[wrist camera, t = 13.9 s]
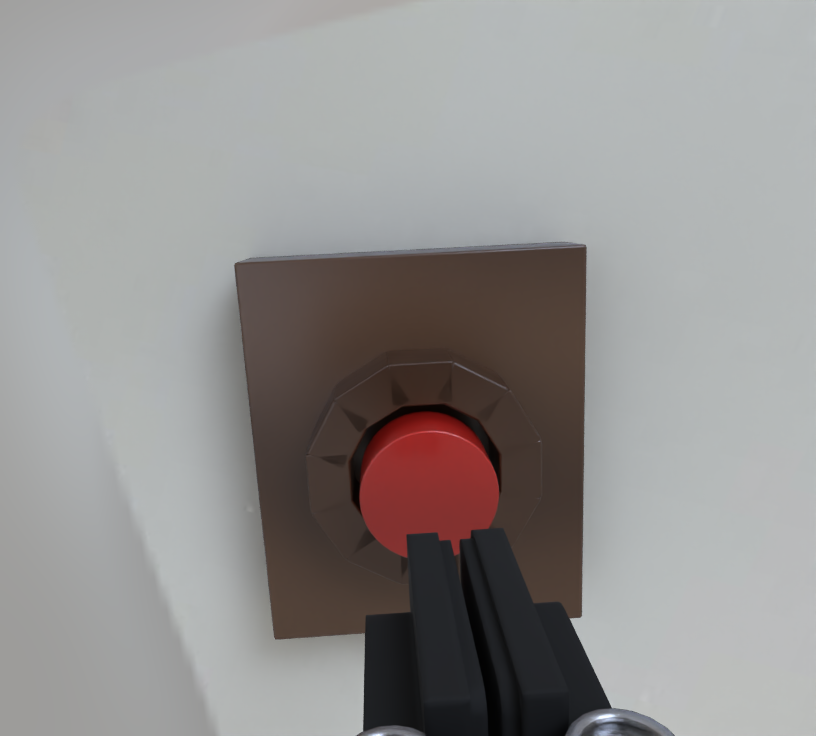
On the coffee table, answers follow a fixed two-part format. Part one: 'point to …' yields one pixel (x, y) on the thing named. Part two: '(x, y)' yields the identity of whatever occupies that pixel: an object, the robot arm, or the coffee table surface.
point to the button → (426, 481)
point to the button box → (411, 410)
